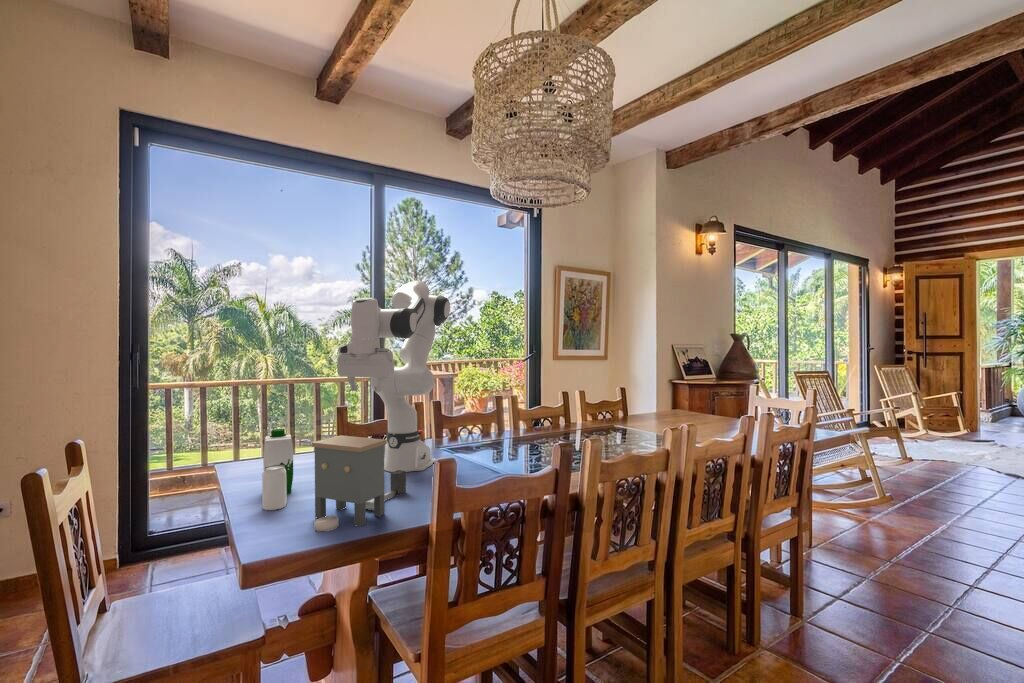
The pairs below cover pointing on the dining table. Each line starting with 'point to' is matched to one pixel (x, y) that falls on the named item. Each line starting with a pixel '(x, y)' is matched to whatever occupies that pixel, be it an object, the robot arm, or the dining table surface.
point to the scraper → (392, 487)
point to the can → (274, 487)
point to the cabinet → (349, 474)
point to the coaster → (326, 523)
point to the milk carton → (279, 453)
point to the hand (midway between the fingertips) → (365, 391)
